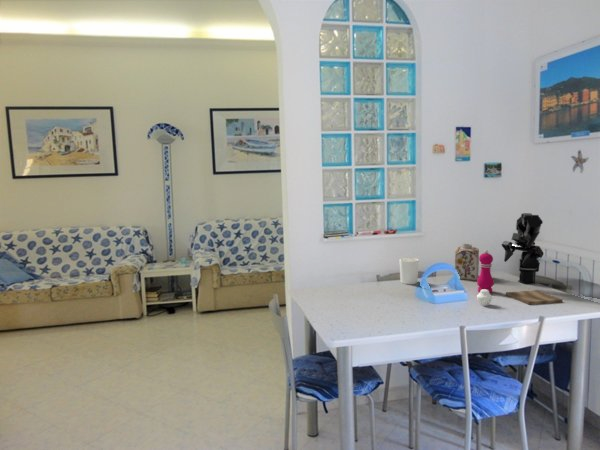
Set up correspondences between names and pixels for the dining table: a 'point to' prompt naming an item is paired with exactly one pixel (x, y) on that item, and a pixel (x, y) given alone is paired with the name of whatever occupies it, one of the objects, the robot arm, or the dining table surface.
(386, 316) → the dining table surface
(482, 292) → the white rounded lump
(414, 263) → the candle holder
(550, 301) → the walnut board
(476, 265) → the decorative jar
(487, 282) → the pepper mill
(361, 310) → the dining table surface
